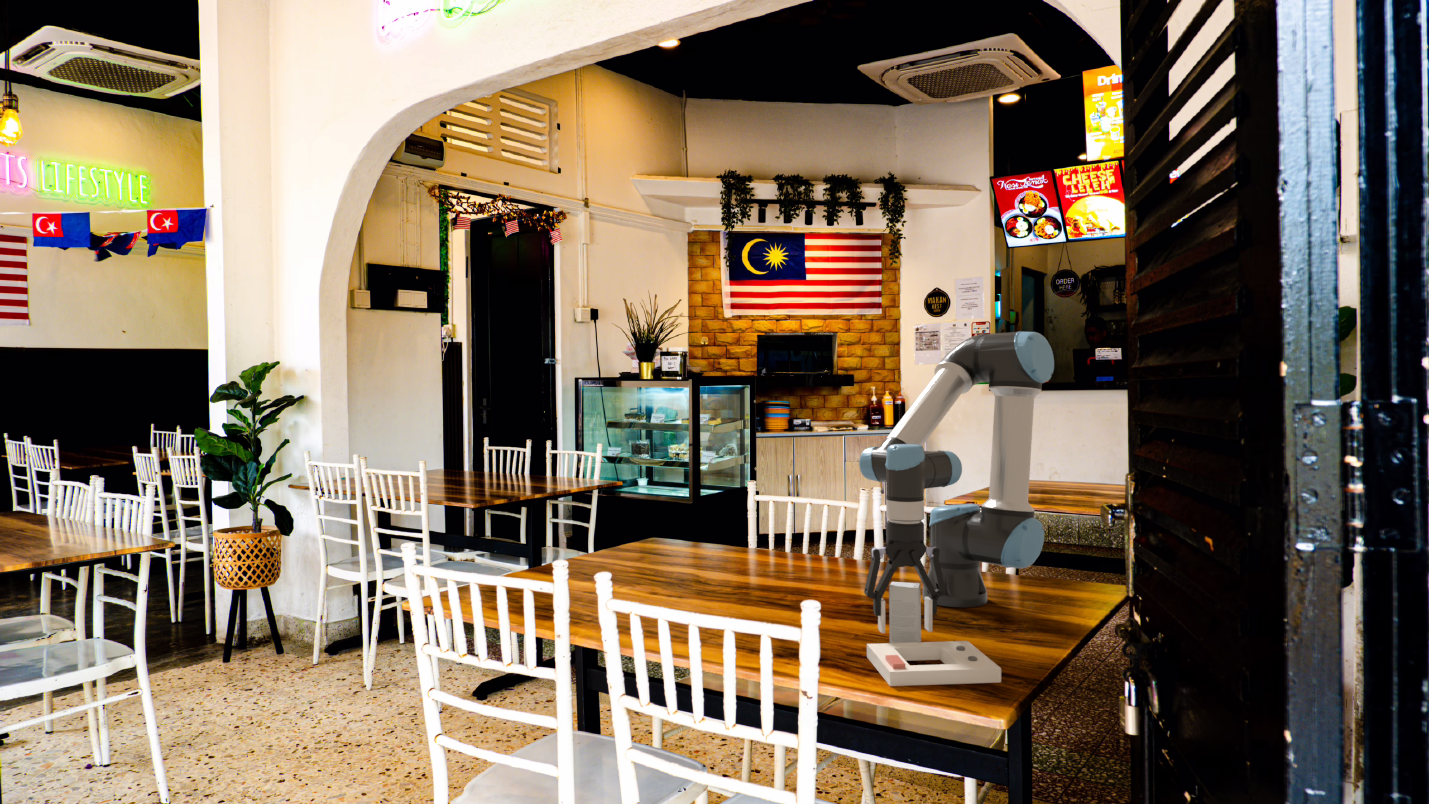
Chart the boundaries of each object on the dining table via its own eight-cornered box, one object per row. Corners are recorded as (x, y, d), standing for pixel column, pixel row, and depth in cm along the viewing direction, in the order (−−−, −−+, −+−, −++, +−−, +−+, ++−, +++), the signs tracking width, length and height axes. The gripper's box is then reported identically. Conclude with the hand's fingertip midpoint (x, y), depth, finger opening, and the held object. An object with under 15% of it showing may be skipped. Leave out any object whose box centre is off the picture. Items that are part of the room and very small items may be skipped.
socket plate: (967, 653, 166) (967, 636, 166) (1001, 682, 151) (1001, 663, 150) (866, 656, 165) (866, 639, 165) (890, 686, 149) (889, 667, 149)
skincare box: (921, 641, 175) (921, 583, 174) (919, 647, 171) (919, 587, 170) (891, 638, 177) (891, 580, 176) (888, 644, 173) (888, 585, 172)
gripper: (950, 516, 178) (950, 623, 178) (848, 518, 176) (848, 626, 177) (964, 522, 170) (963, 634, 171) (856, 524, 169) (857, 637, 169)
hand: (905, 630), depth 174 cm, fingers open, 9 cm apart
